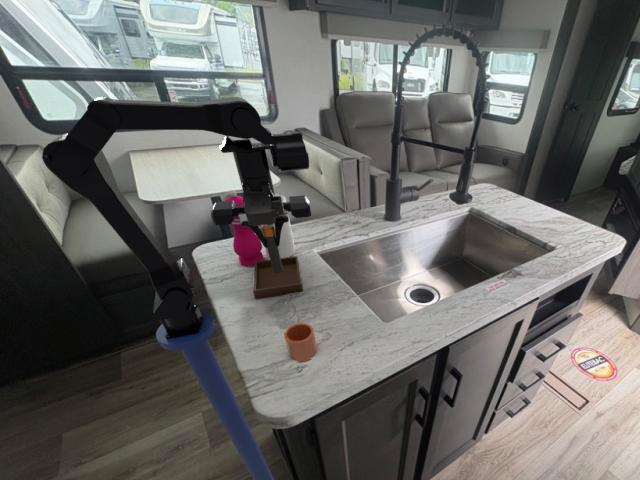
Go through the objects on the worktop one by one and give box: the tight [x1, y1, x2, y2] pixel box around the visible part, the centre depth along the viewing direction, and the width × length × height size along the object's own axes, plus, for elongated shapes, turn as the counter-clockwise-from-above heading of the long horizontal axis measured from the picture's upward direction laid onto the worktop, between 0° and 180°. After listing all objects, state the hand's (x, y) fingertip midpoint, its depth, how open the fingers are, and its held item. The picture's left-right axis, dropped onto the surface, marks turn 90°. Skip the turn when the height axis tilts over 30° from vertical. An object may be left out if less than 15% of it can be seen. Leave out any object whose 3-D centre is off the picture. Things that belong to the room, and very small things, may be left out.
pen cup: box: [283, 322, 318, 364], centre depth 62 cm, size 5×5×6 cm
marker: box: [262, 225, 283, 273], centre depth 72 cm, size 2×2×11 cm
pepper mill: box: [223, 190, 265, 267], centre depth 85 cm, size 7×7×20 cm
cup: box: [261, 193, 296, 258], centre depth 91 cm, size 8×8×16 cm
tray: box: [252, 255, 304, 300], centre depth 83 cm, size 11×14×2 cm
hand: (272, 246), depth 72 cm, fingers closed on marker, 2 cm apart
